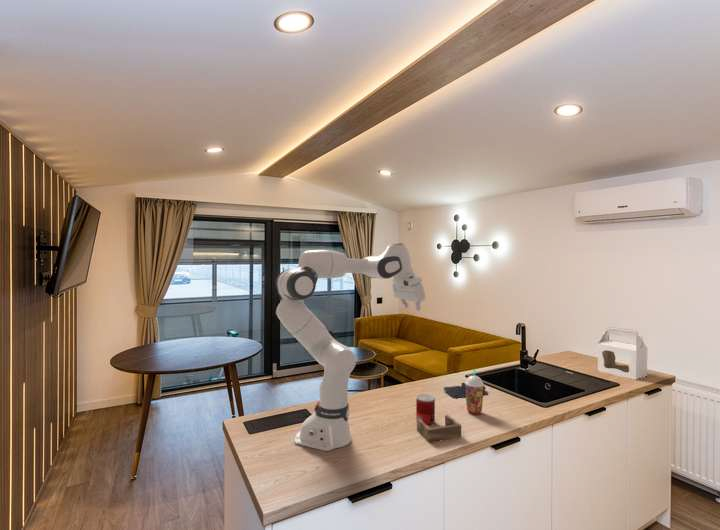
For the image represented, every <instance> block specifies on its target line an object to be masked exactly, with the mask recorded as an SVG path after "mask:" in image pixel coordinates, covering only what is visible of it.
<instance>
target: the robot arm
mask: <svg viewBox="0 0 720 530" xmlns="http://www.w3.org/2000/svg"><path fill="white" fill-rule="evenodd" d="M409 254H410V253H409V250H408V248H407V247H406V244H404V243H400V242H399V243H392V244H391V243H390V244H388V245H387V247H386V249H385V251H384V252H383V253H382V254H380V255H369V256H366V257H363V258H360V259H359V258H349V257H347V255H346V254H345V253H343V252H341V251H336V250H331V249H329V250H328V249H314V250H313V249H312V250H306V251H304V252H302V253H301V254H300V256H299V258H298V265H297V267H296V268H295V269H286V270H282V271H281V272H280V273H279V274H278V275H277V276H276V280H275V288H276V291H277V295H278V299H279V300H280V302H279V303H278V305H277V307H276V311H275V314H276V316H277V318H278V319H279V321H280V322H281V324H282V325H283V326H284V328H285V329H286V331H288V332H289V333H290V334H291V335H292V336H293V337H294V338H295V339H296V340H297V342H298V343H300V344H301V345H302V346H303V347H304V348H305V349H306V351H307V352H308V353H309V355H311V357H312V358H314V361H316V362H318V364H319V365H321V366H322V367H323V369H324V370H323V371H324V372H323V378H322V381H321V382H320V384H319V400H318V401H317V402H316V404H315V406H314V407H313V412H314V413H312V414H310V416H308V417H307V418H305V420H304V421H303V423H302V424H301V427H300V430H299V431H298V432H297V433H296V434H295V437H294V439H293V440H294V444H295V445H300V446H304V447H308V448H312V449H315V450H321V451H324V452H329V451H332V450H334V449H337V448H342V447H345V446H347V445H349V444H350V443H351V442H352V439H353V437H352V434H351V431H350V426H349V425H350V424H349V416H350V408H349V402H348V396H349V394H348V389H349V387H348V385H349V380H350V375H351V373H352V372H353V370H354V369H355V367H356V364H357V358H356V355H355V353H354V352H353V350H352V349H351V348H350V347H348V346H347V345H345V344H342V343H341V342H339V341H338V340H336V339H335V338H334V337H333V336H332V335H331V333H330V332H329V331H328V329H327V327H326V326H325V324H324V323H322V322H321V320H320V319H319V318H318V317H317V316H316V315H315V314H314V313H313V312H312V311H311V310H310V309H309V308H308V307H307V305H306V304H305V301H304V300H307V299H309V298H310V297H312V295H313V294H314V293H315V290H316V287H317V283H318V279H337V278H343V277H344V276H345V275H346V274H360V275H363V276H364V277H366V278H368V279H369V278H370V279H382V280H384V279H385V280H387V279H391V278H393V279H392V292H393V296H394V297H395V298H397V299H399V300H400V302H401V303H402V305H403V306H402V307H403V308H404V309H405V308H406V309H407V308H409V303H407V302H408V301H411V302H414V304H415V306H414V310H415V311H420V310H421V302H423V301H425V300H426V294H425V290H424V286H423V284H422V281H423V280H422V277H421V276H419V275H417V274H416V273H415V272H414V270H413V268H412V265H411V258H410V255H409Z"/></svg>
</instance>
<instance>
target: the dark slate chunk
mask: <svg viewBox="0 0 720 530" xmlns="http://www.w3.org/2000/svg"><path fill="white" fill-rule="evenodd" d="M443 390H444V391H445V393H447V394H448V395H449V396H450V397H451V398H453V399H455V398H456V399H457V400H459V399H458V398H461V399H466V387H465V382H461V385H454V386H445V387H443ZM485 390H486V386H485V385H484V388H483V397H485V396H484V395H487V396H488V395H489V393H488V394H487V392H486V391H485Z"/></svg>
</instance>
